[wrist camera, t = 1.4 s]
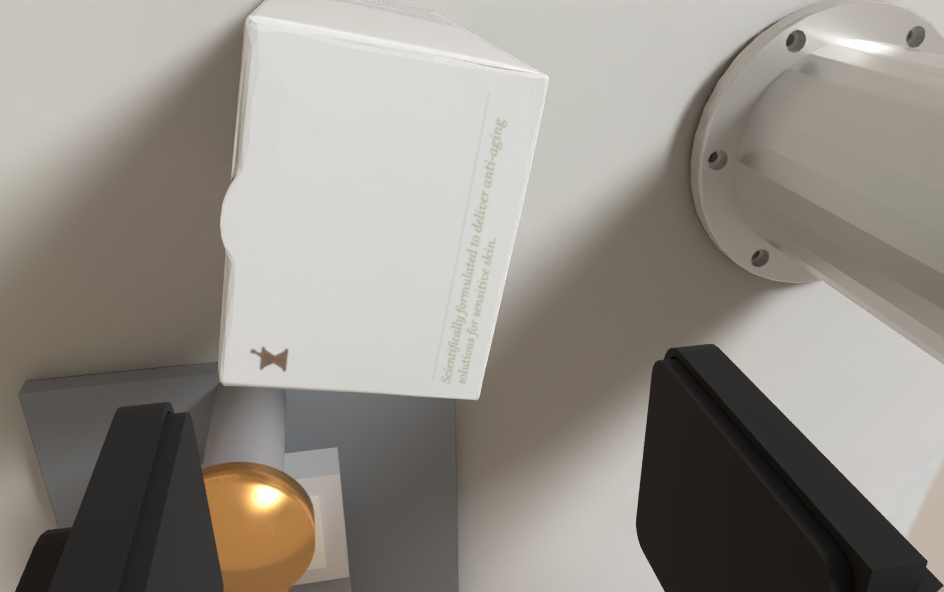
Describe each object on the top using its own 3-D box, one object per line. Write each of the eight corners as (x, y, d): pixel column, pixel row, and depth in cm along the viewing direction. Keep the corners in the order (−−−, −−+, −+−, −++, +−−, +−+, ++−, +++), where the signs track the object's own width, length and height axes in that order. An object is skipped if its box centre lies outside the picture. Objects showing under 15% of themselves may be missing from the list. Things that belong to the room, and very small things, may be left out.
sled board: (450, 338, 36) (489, 449, 29) (456, 629, 44) (488, 775, 37) (25, 381, 33) (-56, 517, 25) (114, 686, 41) (73, 858, 33)
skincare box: (408, 212, 33) (487, 420, 19) (246, 191, 31) (204, 402, 18) (445, 4, 30) (570, 75, 16) (266, -32, 28) (235, 13, 14)
